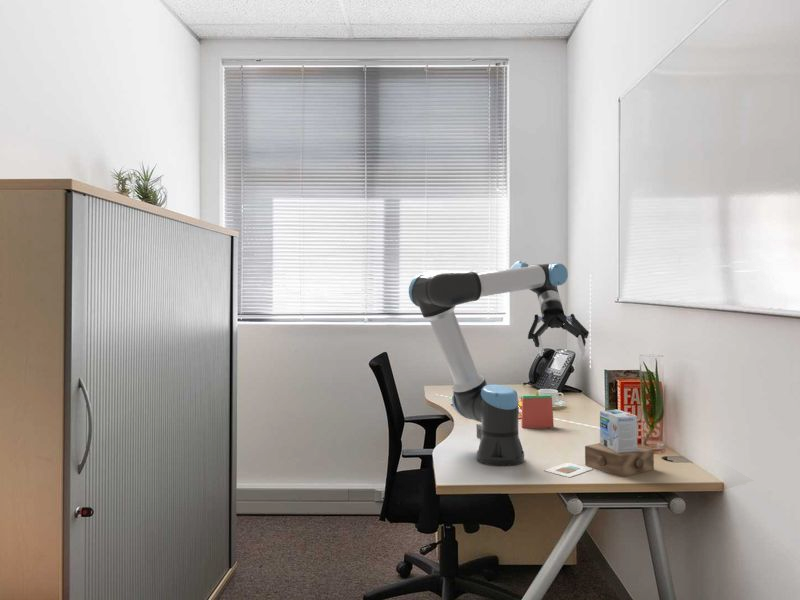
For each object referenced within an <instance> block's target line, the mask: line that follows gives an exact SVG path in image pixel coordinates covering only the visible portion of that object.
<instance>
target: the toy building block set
mask: <svg viewBox="0 0 800 600" xmlns="http://www.w3.org/2000/svg"><path fill="white" fill-rule="evenodd" d="M518 399H520V401H519V400H518V401H519V404H518V406H519V407H520V409H521V410H522V415H521V425H520V427H521V429H539V428H540V429H547V428H546V427H555V426H554V412H553V411H554V410H553V408H554V407H553V397H552V395H551V394H539V393H538V392H536V393H535V394H524V395H523V394H522V396H518ZM519 407H518V408H519Z"/></svg>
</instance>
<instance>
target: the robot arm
mask: <svg viewBox="0 0 800 600" xmlns="http://www.w3.org/2000/svg"><path fill="white" fill-rule="evenodd" d="M568 271H569V270H568V269H567V267H566V265H564V264H563V263H560V262H559V263H556V262H554V263H553V262H552V263H542V264H529V263H527V262H525V261H522V260H517V261H516V262H515V263H513V265H512V266H511V267H510V268H508V269H500V270H491V271H484V272H476V271H475V270H468V271H465V270H464V271H455V270H438V271H424V272H422V273H418V274H417V275H415V276H414V277H413V278H412V279H411V281H410V284H409V287H408V295H409V296H408V297H409V299H410V301H411V303H412V304H413V305H415V306H416V307H419V310H420V312H421V315H422V317H423V318H424V319H426V320H429V322H430V325H431V327H432V330H433V332H434V335H435V336H436V339H437V341H438V345H439V347H440V349H441V352H442V355H443V357H444V360H445V362H446V365H447V368H448V370H449V372H450V375H451V376H452V377H451V378H452V380H453V385H452V386H451V387H452V392H453V393H452V396H451V402H452V407H453V408H454V410H455V411H456V413H458V414H459V415H460V416H462V417H464V418H465V419H468V420H473V421H476V422H479V423H481V424H482V438H481V439H480V442H479V445H478V449H477V451H476V460H477V461H478V462H479V463H482V464H484V465H488V466H497V467H507V466H508V467H509V466H517V465H520V464H523V463H524V462H525V452H524V448H523V446H522V443H521V440H520V437H519V435H520V434H519V407H518V406H519V405H518V404H519V395H518V392H517V390H515V389H514V388H512V387H510V386H507V385H501V384H487V381H486V378H485V376H484V375H482V374H480V373H479V372H478V370H477V368H476V364H475V363H474V359H473V358H472V357H473V356H472V355H471V352H470V350H469V347H468V345H467V342H466V339H465V337H464V333H463V332H462V329H461V327H460V324H459V322H458V319H457V316H456V314H455V311H454V310H455V308H456V306H457V305H462V304H466V303H471V302H475V301H478V300H480V298H481V297H482V298H483V297H487V296H494V295H501V294H505V293H506V294H507V293H512V292H513V293H514V292H519V291H525V290H529V291H531V292H533V293H535V294H536V295H537V300H538V303H539V308H540V314H541V316H539V315H538V314H534V317H533V322H532V324H531V327H530V329H529V332H528V334H527V339H528V340H532V342H533V343H534V346H535V348H538V353H539V357H543V355H544V346H543V342H542V337H541V336H542V335H543V334H544V333H545V331H546V330H548V328H550V329H554V328H555V329H560V328H561V329H562V330H566V331H567V332H568V333H570V334H572V335H573V337H575V338H577V340H576V342H577V344H578V348H579V351H580V355H581V356H585V352H586V348H585V347H586V339H588V337H589V333H590V332H589V331H588V330H587V329H586V328H585V326H583V325H582V323H581V322H579V320H578V319H577V318H576V316H575V314H574V313H571V314H570V315H566V314H565V311H564V308H563V303H562V299H561V296H560V293H559V289H558V286H562V285H564V284H565V283H566V282H567V281H568V277H569V273H568ZM541 322H542V323H543V324H542V325H541V326H540V327H539V328H538V330H536V328H537V327H538V324H540V323H541ZM535 331H536V332H535Z"/></svg>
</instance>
